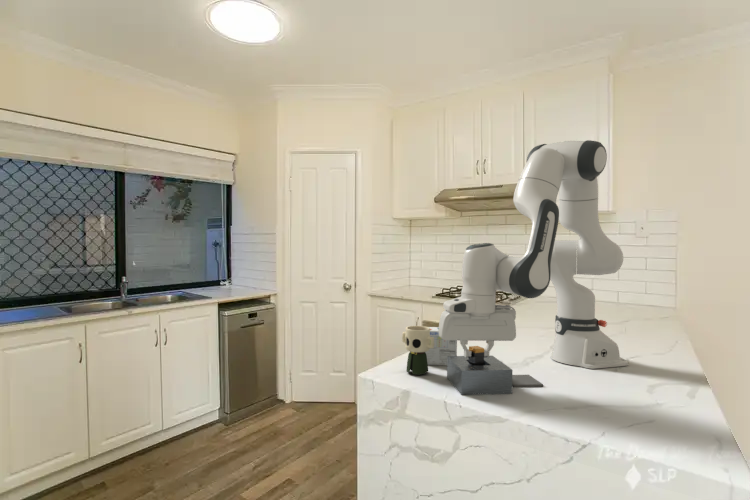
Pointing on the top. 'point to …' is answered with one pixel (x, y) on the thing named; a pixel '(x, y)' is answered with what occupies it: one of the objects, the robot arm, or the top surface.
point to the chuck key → (476, 355)
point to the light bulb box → (440, 349)
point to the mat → (525, 381)
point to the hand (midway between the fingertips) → (476, 357)
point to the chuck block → (479, 376)
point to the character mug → (417, 348)
